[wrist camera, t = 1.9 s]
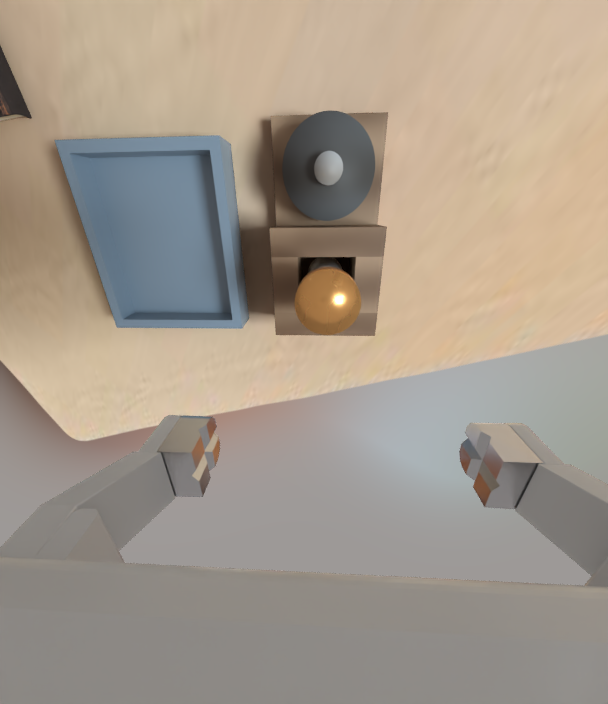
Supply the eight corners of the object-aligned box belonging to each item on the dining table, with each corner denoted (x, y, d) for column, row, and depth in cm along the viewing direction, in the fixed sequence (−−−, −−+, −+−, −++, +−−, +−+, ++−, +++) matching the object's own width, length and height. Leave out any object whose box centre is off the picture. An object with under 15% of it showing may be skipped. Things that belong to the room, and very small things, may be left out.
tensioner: (273, 120, 27) (261, 98, 21) (384, 117, 26) (401, 93, 21) (282, 316, 35) (276, 334, 30) (366, 316, 35) (374, 335, 29)
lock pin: (302, 250, 32) (293, 270, 21) (348, 249, 31) (364, 270, 21) (303, 295, 34) (295, 334, 23) (346, 295, 34) (358, 335, 23)
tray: (83, 147, 28) (54, 140, 25) (230, 144, 28) (219, 135, 24) (134, 317, 36) (117, 327, 33) (249, 318, 36) (242, 328, 32)
